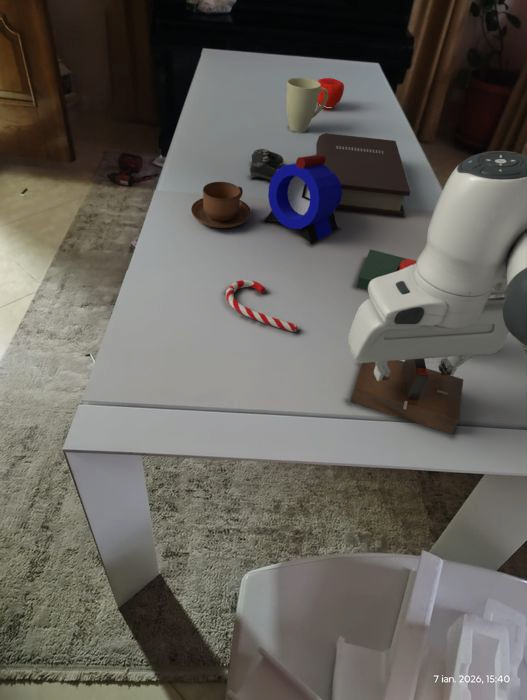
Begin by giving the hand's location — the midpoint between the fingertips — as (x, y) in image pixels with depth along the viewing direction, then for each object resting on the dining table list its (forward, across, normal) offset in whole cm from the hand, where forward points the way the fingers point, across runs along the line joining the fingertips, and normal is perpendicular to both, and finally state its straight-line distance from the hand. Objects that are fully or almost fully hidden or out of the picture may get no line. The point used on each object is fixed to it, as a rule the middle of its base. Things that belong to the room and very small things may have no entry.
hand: (413, 374), depth 69 cm
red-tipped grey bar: (+2, 0, 0) cm, 2 cm away
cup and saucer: (+5, +20, -51) cm, 55 cm away
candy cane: (+5, +17, -21) cm, 27 cm away
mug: (+5, -8, -100) cm, 101 cm away
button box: (+5, -9, -27) cm, 29 cm away
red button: (+1, -10, -24) cm, 26 cm away
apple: (+5, -20, -118) cm, 119 cm away
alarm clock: (+5, +3, -48) cm, 48 cm away
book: (+5, -14, -66) cm, 67 cm away
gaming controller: (+5, +7, -72) cm, 73 cm away
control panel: (+5, 0, 0) cm, 5 cm away
